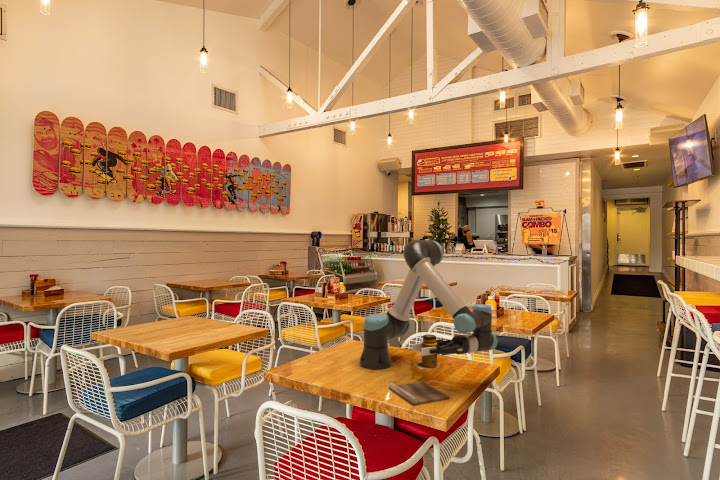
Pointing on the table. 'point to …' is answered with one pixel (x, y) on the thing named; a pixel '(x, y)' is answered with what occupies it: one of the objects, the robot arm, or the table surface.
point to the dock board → (418, 392)
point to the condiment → (428, 360)
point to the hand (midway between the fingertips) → (416, 349)
